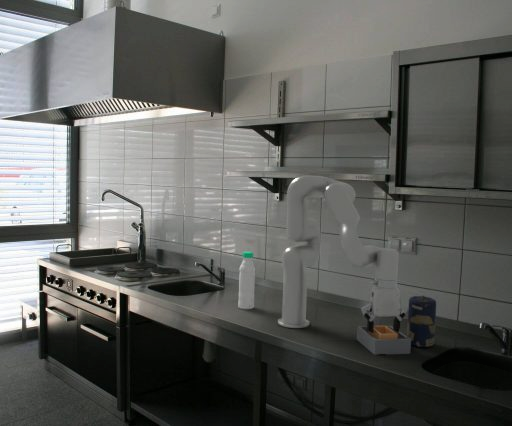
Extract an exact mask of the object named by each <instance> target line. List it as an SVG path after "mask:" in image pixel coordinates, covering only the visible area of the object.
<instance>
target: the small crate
mask: <svg viewBox="0 0 512 426" xmlns="http://www.w3.org/2000/svg"><path fill="white" fill-rule="evenodd" d="M387 326H388V325H374V329H373V333H371V332H370V331H369V334H370V335H371V336H373V337H374V338H375V339H377V340H378V339H398V334H397V333H396V332H394V331H393V330H391V329H390V328H388V327H387Z"/></svg>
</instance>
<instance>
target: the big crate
mask: <svg viewBox="0 0 512 426" xmlns="http://www.w3.org/2000/svg"><path fill="white" fill-rule="evenodd" d="M386 326H387V327H388V328H390V329H391V330H393V325H386ZM356 328H357V329H356V340H357V341H358V342H359V343H360V344H361V345H362V346H364V347H365V348H366V349H367V350H368V351H369V352H370V353H371V354H373V355H375V356H379V354H386V355H410V354H411V347H412V346H411V345H412V344H411V339H410V338H408V337H407V335H405V334H404V333H403V332H401V331H399V332H396V331H395V330H393V331H394V332H396V333H397V334H398V339H378V340H377V339H375V338H374V337H373V336H371V335H370V334H369V331H368V329H367V325H366V326H365V325H364V326H363V325H362V326H361V325H359V326H357V327H356ZM377 354H378V355H377Z"/></svg>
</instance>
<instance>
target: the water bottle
mask: <svg viewBox="0 0 512 426" xmlns="http://www.w3.org/2000/svg"><path fill="white" fill-rule="evenodd" d="M253 259H254V252H253V251H243V252H242V262H241V264H240V266H239V268H238V269H239V278H238V303H237V307H238V308H239V309H240V310H252V309H253V308H254V307H255V285H256V266H255V264H254V261H253Z"/></svg>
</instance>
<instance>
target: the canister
mask: <svg viewBox="0 0 512 426" xmlns="http://www.w3.org/2000/svg"><path fill="white" fill-rule="evenodd" d="M407 308H408V311H407V328H406V336H407V337H408V338H410V339H411V345H412V346H414V347H419V348H429V347H433V346H434V345H435V337H436V333H435V332H436V326H437V325H436V321H437V320H436V315H437V301H436V300H435V299H434V298H432V297H429V296H425V295H416V296H411V297H409V299H408V307H407Z"/></svg>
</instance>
